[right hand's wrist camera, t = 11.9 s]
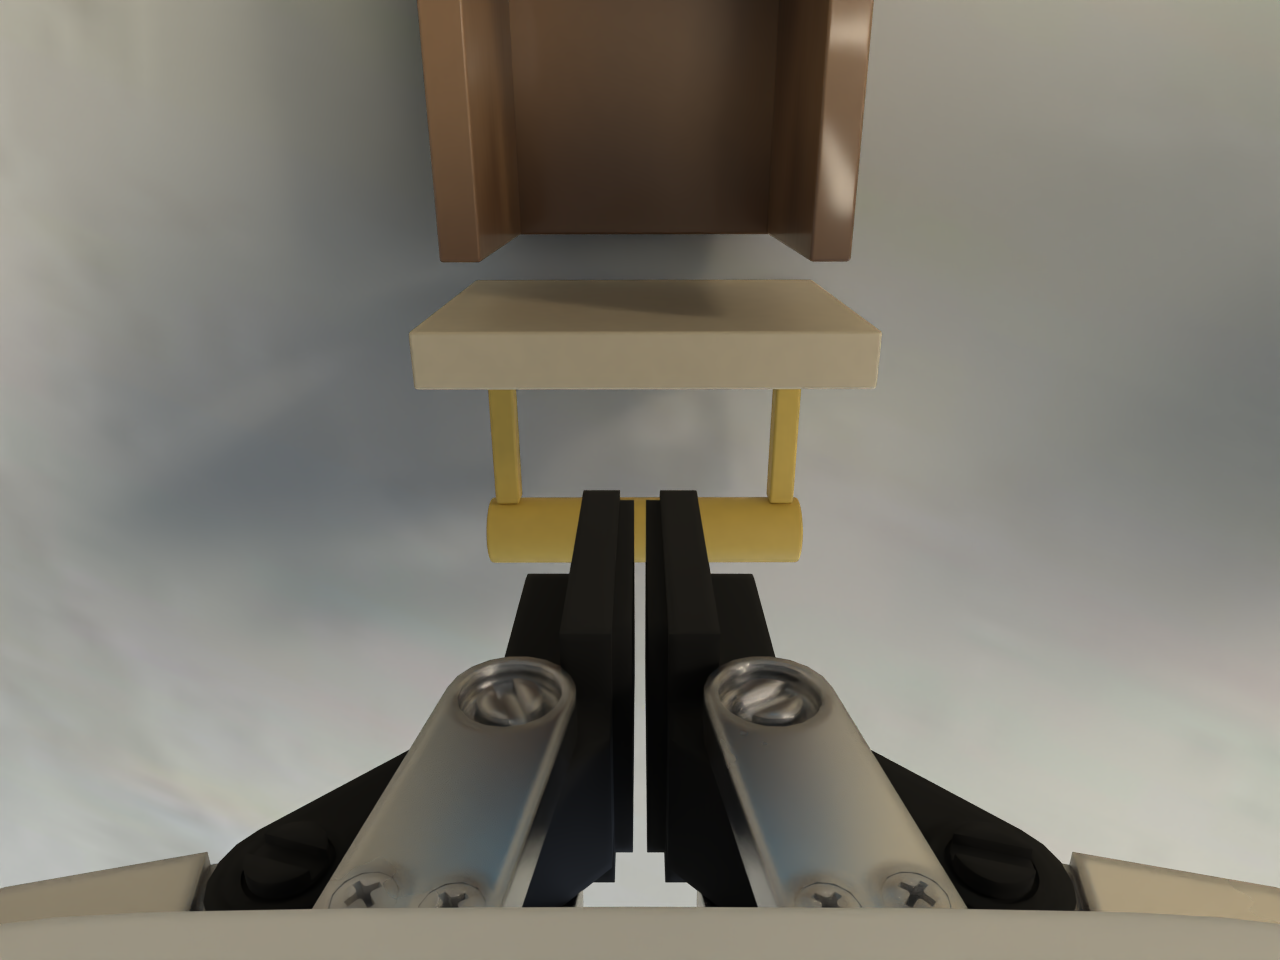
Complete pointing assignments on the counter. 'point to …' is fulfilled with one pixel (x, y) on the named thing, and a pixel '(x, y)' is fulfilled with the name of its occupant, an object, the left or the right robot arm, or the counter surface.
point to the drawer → (645, 221)
